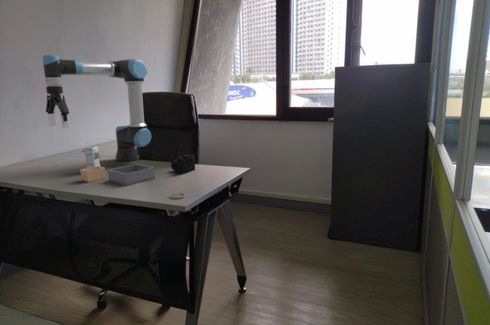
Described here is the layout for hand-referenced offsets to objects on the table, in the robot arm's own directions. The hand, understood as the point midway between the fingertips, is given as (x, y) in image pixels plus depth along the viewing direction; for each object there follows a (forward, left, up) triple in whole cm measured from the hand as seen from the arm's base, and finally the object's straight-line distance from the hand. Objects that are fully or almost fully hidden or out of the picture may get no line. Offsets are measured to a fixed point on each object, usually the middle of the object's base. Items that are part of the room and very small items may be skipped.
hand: (59, 126), depth 192 cm
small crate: (-7, +17, -28) cm, 33 cm away
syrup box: (-17, 0, -28) cm, 33 cm away
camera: (-48, +42, -28) cm, 70 cm away
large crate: (-19, +34, -28) cm, 48 cm away
